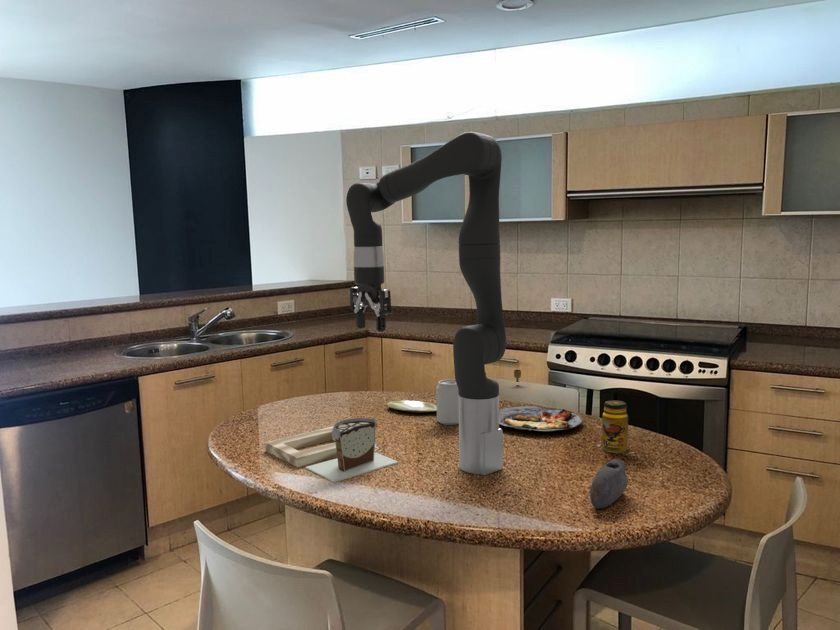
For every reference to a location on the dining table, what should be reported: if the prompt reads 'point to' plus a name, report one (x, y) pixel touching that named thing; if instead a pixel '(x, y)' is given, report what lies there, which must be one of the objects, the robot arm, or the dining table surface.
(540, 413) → the food plate
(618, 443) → the condiment
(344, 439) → the patterned half cylinder
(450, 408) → the can
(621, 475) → the perforated stone tool
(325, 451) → the frame
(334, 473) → the mat
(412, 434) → the dining table surface
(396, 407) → the oval serving platter
